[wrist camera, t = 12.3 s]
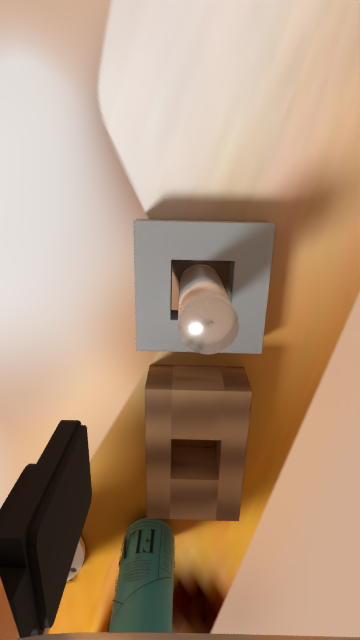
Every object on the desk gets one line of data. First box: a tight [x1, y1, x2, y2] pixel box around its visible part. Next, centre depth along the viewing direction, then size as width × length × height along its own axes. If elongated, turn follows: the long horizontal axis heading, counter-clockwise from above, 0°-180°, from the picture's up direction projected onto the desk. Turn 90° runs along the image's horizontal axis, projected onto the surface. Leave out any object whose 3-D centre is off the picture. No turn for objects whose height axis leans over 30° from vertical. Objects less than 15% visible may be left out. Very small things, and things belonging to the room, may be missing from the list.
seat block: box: [134, 219, 276, 354], centre depth 32 cm, size 12×12×3 cm
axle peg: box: [178, 264, 239, 354], centre depth 28 cm, size 4×4×12 cm
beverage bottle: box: [107, 518, 176, 633], centre depth 35 cm, size 6×7×20 cm
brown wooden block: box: [145, 365, 252, 521], centre depth 37 cm, size 16×10×5 cm, turn 179°
